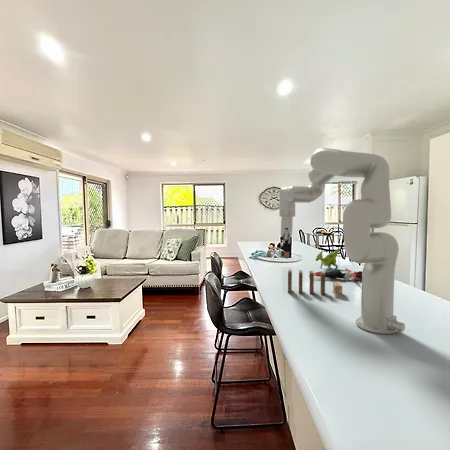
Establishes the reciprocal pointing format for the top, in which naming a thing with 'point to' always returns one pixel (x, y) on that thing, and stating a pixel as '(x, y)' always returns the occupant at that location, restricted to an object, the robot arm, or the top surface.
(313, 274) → the domino
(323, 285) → the domino
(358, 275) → the toy
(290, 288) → the domino
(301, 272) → the domino
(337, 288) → the end block
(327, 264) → the toy
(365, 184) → the robot arm
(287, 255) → the domino
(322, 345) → the top surface
